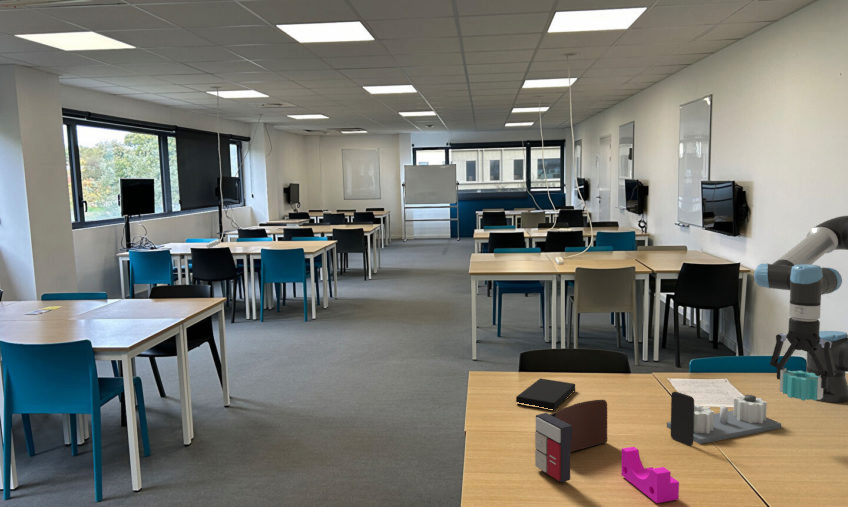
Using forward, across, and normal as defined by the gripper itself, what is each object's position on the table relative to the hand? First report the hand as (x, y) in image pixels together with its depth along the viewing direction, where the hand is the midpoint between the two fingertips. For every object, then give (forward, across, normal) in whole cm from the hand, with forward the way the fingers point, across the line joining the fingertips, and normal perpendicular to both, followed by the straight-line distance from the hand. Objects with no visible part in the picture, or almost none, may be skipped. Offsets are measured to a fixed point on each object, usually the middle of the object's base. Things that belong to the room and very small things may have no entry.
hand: (800, 394), depth 174 cm
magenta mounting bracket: (+16, -18, -54) cm, 59 cm away
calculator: (+15, -39, -66) cm, 78 cm away
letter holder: (+16, -47, -46) cm, 68 cm away
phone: (+16, -24, -22) cm, 37 cm away
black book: (+16, -77, -19) cm, 81 cm away
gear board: (+15, -20, -2) cm, 26 cm away
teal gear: (0, 0, 0) cm, 0 cm away
